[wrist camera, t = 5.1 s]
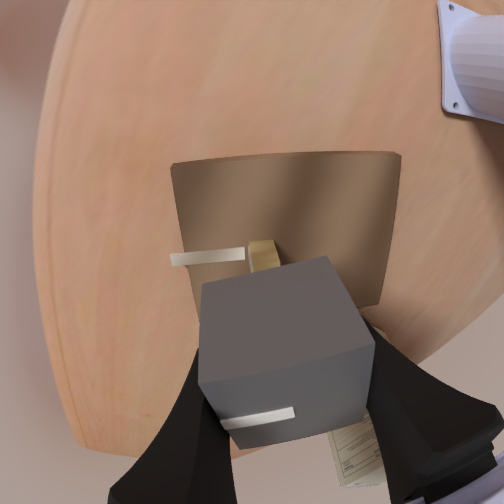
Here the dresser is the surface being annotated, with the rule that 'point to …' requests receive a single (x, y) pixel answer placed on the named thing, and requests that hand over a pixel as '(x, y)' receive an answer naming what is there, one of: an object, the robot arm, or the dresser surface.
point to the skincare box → (358, 452)
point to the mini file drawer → (283, 353)
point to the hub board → (288, 215)
